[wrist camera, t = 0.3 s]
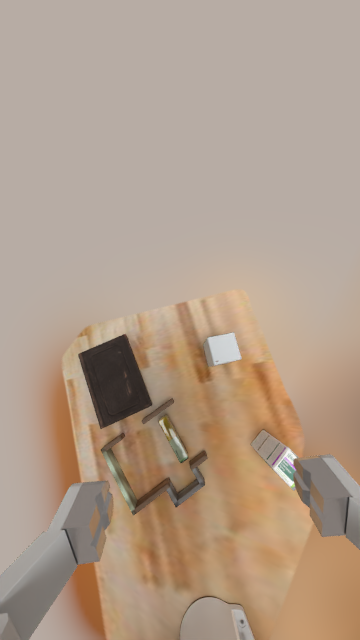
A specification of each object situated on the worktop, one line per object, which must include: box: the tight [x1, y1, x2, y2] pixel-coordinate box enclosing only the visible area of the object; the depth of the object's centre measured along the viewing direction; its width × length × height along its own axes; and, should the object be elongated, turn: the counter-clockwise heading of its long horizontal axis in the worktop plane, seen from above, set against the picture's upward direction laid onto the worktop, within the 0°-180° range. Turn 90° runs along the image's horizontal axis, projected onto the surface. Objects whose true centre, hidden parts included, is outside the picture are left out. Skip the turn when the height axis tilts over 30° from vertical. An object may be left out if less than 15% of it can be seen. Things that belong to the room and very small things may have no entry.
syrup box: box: [251, 430, 299, 490], centre depth 48 cm, size 6×6×14 cm
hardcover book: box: [78, 334, 152, 429], centre depth 60 cm, size 16×23×2 cm
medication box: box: [158, 414, 188, 463], centre depth 54 cm, size 12×3×4 cm, turn 32°
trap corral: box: [101, 399, 208, 515], centre depth 53 cm, size 22×23×3 cm
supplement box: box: [203, 332, 241, 367], centre depth 55 cm, size 7×7×13 cm
